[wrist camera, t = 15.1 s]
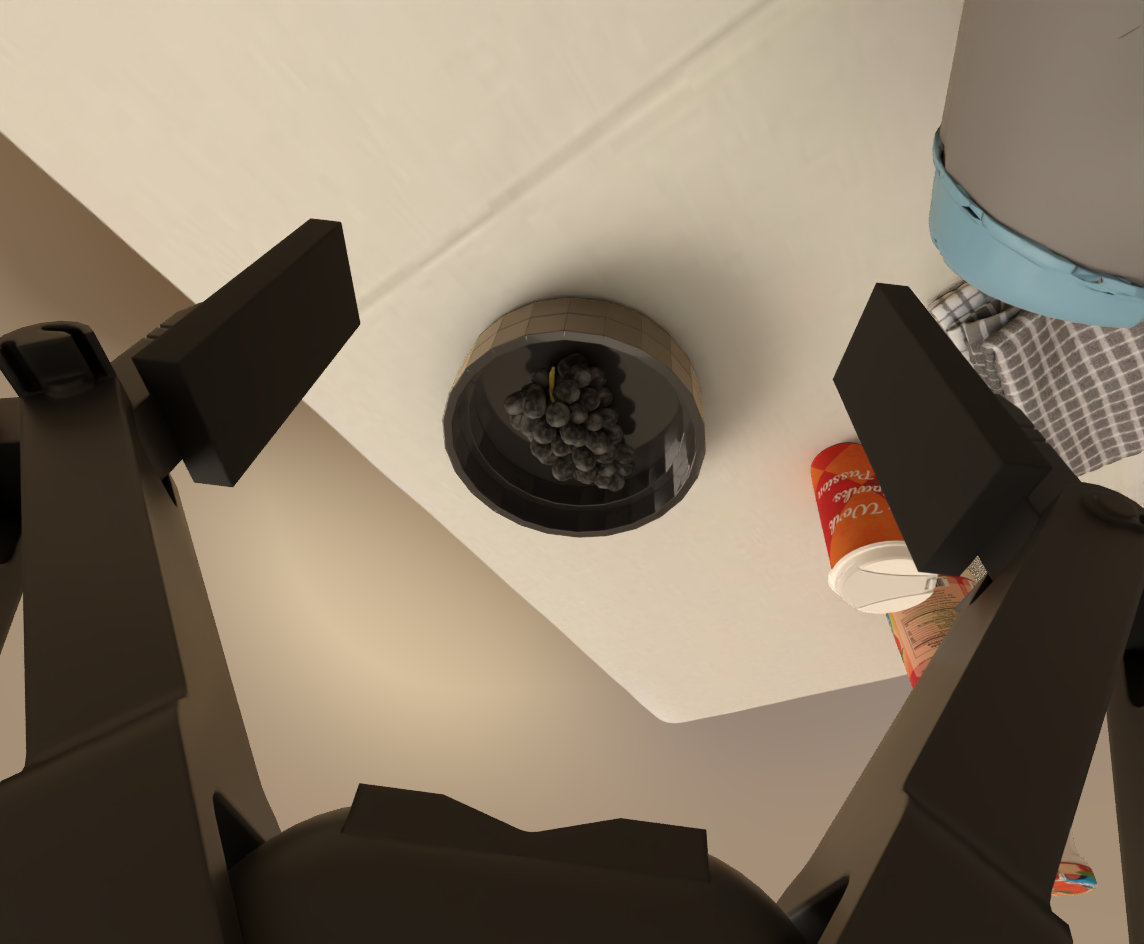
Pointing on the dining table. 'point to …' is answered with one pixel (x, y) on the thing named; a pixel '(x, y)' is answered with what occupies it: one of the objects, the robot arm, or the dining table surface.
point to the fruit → (573, 424)
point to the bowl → (639, 389)
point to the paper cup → (864, 536)
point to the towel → (1055, 374)
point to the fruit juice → (917, 645)
